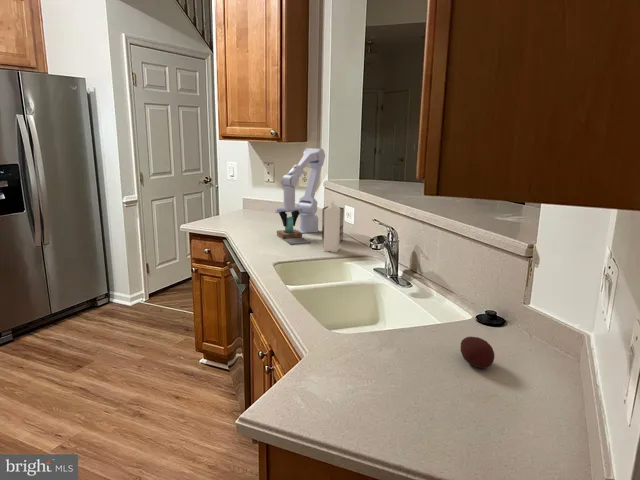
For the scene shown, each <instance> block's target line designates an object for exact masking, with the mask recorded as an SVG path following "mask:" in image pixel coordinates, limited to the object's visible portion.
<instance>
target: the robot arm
mask: <svg viewBox="0 0 640 480" xmlns="http://www.w3.org/2000/svg"><path fill="white" fill-rule="evenodd" d="M325 159H326V153H325V150H324V149H323V148H310V147H306V148H305V149H304V151H303V156H302V157H301V158H300V160H299V162H298V164H294V165H293V166H292V168H291V169H290V170H289V171H288V172H287V174H283V176H282V177H281V180H280V183H281V187H282V190H283V207H277V208H274V213H276V214H278V215H279V216H280V218H281V221H282V225H283V227H284V228H285V227H286V219H287V216H288V213H291V214H290V215H291V216H292V217H293V227H295V226H296V224H297V223H296V222H297V219H298V217H299V228H298V229H296V230H297V231H299V232H301V233H302V234H307V233H318V232H319V217H318V215H317V214H316V213H317V211H318V201H317V200H316V198H315V195H316V192H317V187H318V183H319V178H320V175H321V171H322V167H323V166H324V162H325ZM307 166H310V172H309V176H308V179H307V183H306V188H305V192H304V195H303V196H302V197H300V198H299V201H298V203H297V204H296V186H298V183H299V178H301V176H302V175H303V173H304V168H306V167H307Z"/></svg>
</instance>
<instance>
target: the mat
mask: <svg viewBox="0 0 640 480" xmlns="http://www.w3.org/2000/svg"><path fill="white" fill-rule="evenodd" d="M283 241H284V242H286V244H287V243H288V244H289V245H290V246H293V245H294V244H296V245H305V244H306V243H307V244H311V241H310V240H308V239H307V238H305V237H302V238H290V239H284V240H283Z"/></svg>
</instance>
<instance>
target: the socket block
mask: <svg viewBox="0 0 640 480" xmlns="http://www.w3.org/2000/svg"><path fill="white" fill-rule="evenodd" d="M276 236H277V237H278V238H280V239H281V240H283V241H284V239H290V238H303V233H301V232H300V231H298V230H297V229H295V228H293V233H285V229H283V230H282V229H281V230H276Z"/></svg>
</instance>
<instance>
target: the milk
mask: <svg viewBox="0 0 640 480" xmlns="http://www.w3.org/2000/svg"><path fill="white" fill-rule="evenodd" d="M339 234H340V208H339V207H338V206H337V205H336V204H335V201H332V202H331V203H330V206H328V208H326V209H325V210H324V240H323V252H328V251H331V253H337V252H338V251H339V249H340V241H339Z"/></svg>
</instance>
